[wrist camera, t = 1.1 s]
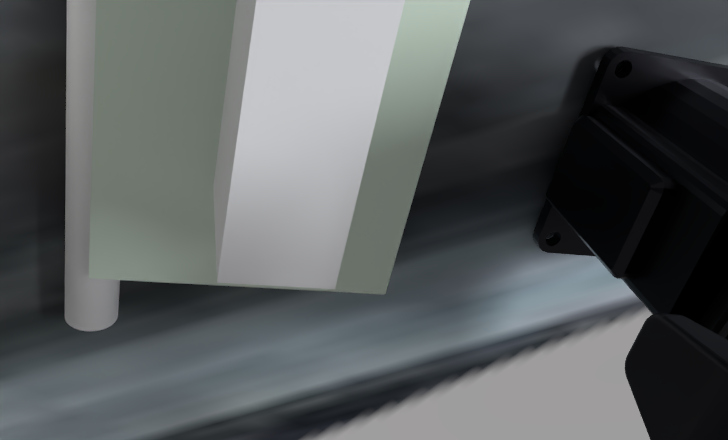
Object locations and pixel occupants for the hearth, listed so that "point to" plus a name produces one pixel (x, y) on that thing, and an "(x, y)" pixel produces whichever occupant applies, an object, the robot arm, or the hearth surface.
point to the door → (245, 141)
